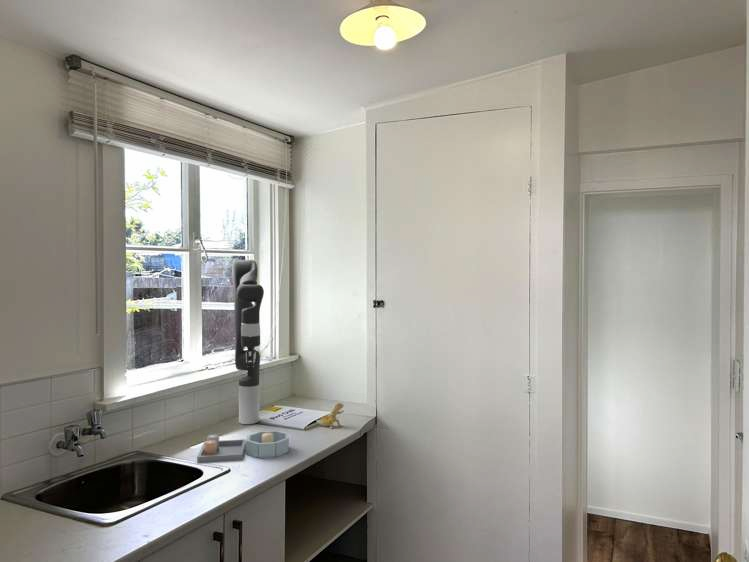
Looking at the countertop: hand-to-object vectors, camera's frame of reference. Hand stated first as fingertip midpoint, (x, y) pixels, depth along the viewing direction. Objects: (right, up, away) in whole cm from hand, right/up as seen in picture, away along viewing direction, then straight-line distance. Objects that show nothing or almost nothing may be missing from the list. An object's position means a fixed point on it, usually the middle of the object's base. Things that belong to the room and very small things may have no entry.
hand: (251, 374), depth 213 cm
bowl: (+8, -29, -7) cm, 31 cm away
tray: (-8, -29, -10) cm, 32 cm away
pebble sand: (+8, -28, -7) cm, 30 cm away
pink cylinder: (-13, -28, -7) cm, 32 cm away
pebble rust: (-12, -29, -14) cm, 34 cm away
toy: (+29, -28, +25) cm, 48 cm away
